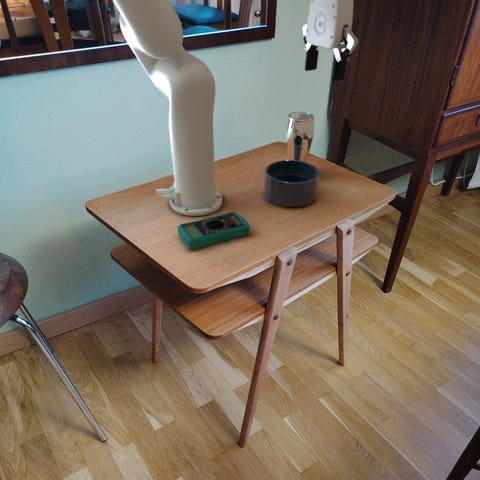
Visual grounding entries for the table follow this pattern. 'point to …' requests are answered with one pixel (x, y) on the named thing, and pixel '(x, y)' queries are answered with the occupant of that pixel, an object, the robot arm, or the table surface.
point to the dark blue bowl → (291, 183)
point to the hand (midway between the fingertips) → (323, 74)
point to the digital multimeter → (213, 230)
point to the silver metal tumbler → (299, 135)
